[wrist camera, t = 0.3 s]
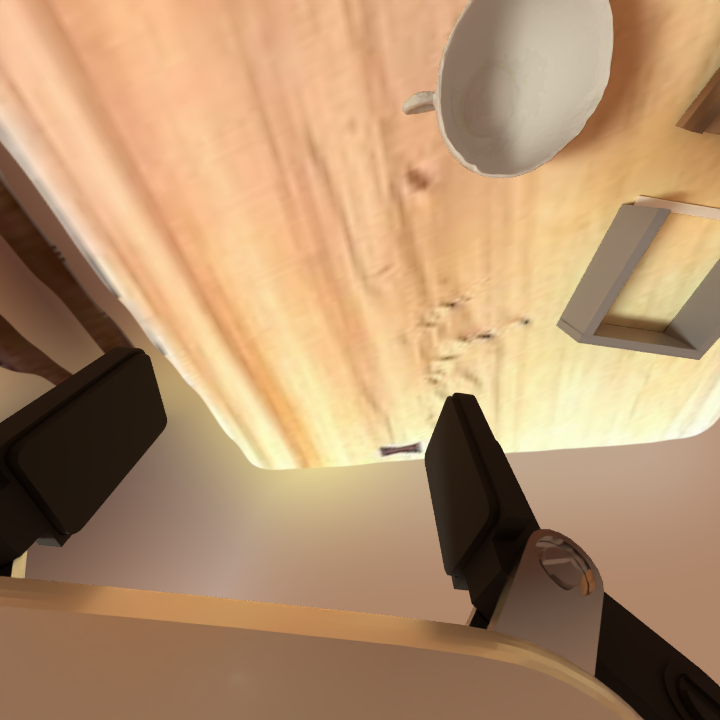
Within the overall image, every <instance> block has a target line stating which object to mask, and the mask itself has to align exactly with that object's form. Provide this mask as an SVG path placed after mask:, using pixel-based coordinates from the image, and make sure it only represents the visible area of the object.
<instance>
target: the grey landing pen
mask: <svg viewBox="0 0 720 720" xmlns="http://www.w3.org/2000/svg"><path fill="white" fill-rule="evenodd" d="M670 212H673V213H679V214H685V215H691V216H697V217H703V218H709V219H715V220H720V209H716V208H710V207H704V206H698V205H692V204H686V203H681V202H675V201H669V200H663V199H657V198H651V197H645V196H638V197H637V199H636V201H635V202H634V204H633V205H626V204H622V206H621V208H620V209H619V211H618V213H617V215H616V217H615V219H614V220H613V222H612V224H611V226H610V228H609V230H608V231H607V233H606V235H605V237H604V239H603V241H602V242H601V244H600V246H599V248H598V250H597V252H596V253H595V255H594V257H593V259H592V261H591V263H590V264H589V266H588V268H587V270H586V272H585V274H584V276H583V277H582V279H581V281H580V283H579V285H578V287H577V288H576V290H575V292H574V294H573V296H572V298H571V299H570V301H569V303H568V305H567V307H566V309H565V310H564V312H563V314H562V316H561V318H560V320H559V321H558V323H557V326H558V327H559V328H560V329H562V330H563V331H564V332H565V333H567V334H568V335H569V336H570V337H572V338H573V339H574V340H575V341H577V342H578V343H585V344H592V345H599V346H606V347H613V348H620V349H627V350H634V351H640V352H647V353H654V354H661V355H668V356H675V357H682V358H689V359H696V360H700V359H701V357H702V356H703V355H704V354H705V353H706V352H707V351H708V350H709V348H710V347H711V346H712V345H713V344H714V343H715V342H716V341H717V339H718V338H719V337H720V259H719V261H718V262H717V263H716V265H715V266H714V267H713V268H712V270H711V271H710V272H709V274H708V275H707V276H706V278H705V279H704V280H703V281H702V283H701V284H700V285H699V287H698V288H697V289H696V291H695V292H694V293H693V294H692V296H691V297H690V298H689V300H688V301H687V302H686V304H685V305H684V306H683V307H682V309H681V310H680V311H679V313H678V314H677V315H676V317H675V318H674V319H673V320H672V322H671V323H670V324H669V326H668V327H667V328H666V330H665V331H664V332H656V331H650V330H643V329H636V328H629V327H622V326H616V325H609V324H602V323H601V321H602V320H603V318H604V316H605V315H606V313H607V312H608V310H609V308H610V307H611V305H612V304H613V302H614V301H615V299H616V297H617V296H618V294H619V293H620V291H621V289H622V288H623V286H624V285H625V283H626V281H627V280H628V278H629V277H630V275H631V273H632V272H633V270H634V269H635V267H636V266H637V264H638V262H639V261H640V259H641V258H642V256H643V254H644V253H645V251H646V250H647V248H648V246H649V245H650V243H651V242H652V240H653V239H654V237H655V235H656V234H657V232H658V231H659V229H660V227H661V226H662V224H663V223H664V221H665V219H666V218H667V216H668V215H669V213H670Z"/></svg>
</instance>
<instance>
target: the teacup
mask: <svg viewBox="0 0 720 720" xmlns="http://www.w3.org/2000/svg"><path fill="white" fill-rule="evenodd" d="M613 44H614V27H613V15H612V11H611V7H610V3H609V0H469V2H468V4H467V5H466V7H465V9H464V10H463V12H462V14H461V15H460V17H459V19H458V20H457V22H456V24H455V26H454V28H453V29H452V31H451V34H450V36H449V38H448V41H447V43H446V46H445V49H444V51H443V55H442V58H441V62H440V66H439V71H438V77H437V87H436V90H435V92H431V91H423V92H418V93H416V94H414V95H413V96H411V97H410V98H409V99H408V100H407V101H405V102H404V104H403V106H402V110H403V112H404V113H405V114H407V115H411V114H419V113H424V112H428V111H433V110H436V116H437V122H438V127H439V131H440V134H441V137H442V139H443V141H444V143H445V145H446V147H447V149H448V150H449V152H450V153H451V155H452V156H453V157H454V158H455V159H456V160H457V161H458V162H459V163H460V164H461V165H462V166H464V167H465V168H467V169H468V170H470V171H472V172H474V173H476V174H478V175H481V176H485V177H490V178H511V177H516V176H520V175H523V174H526V173H528V172H531V171H533V170H535V169H537V168H538V167H540V166H541V165H543V164H544V163H546V162H549V161H550V160H551V159H553V157H554V156H555V155H556V154H557V153H558V152H560V151H561V150H562V149H563V148H564V147H565V146H566V145H567V144H568V143H569V142H570V141H571V140H573V139H574V138H575V137H576V136H577V135H578V134H579V133H580V132H581V130H582V129H583V128H584V126H585V124H586V121H587V120H588V118H589V117H590V116H591V115H592V114H593V113H594V111H595V109H596V107H597V105H598V104H599V102H600V101H601V99H602V98H603V93H604V90H605V88H606V86H607V84H608V80H609V76H610V67H611V61H612V54H613Z"/></svg>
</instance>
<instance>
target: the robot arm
mask: <svg viewBox="0 0 720 720" xmlns="http://www.w3.org/2000/svg"><path fill="white" fill-rule="evenodd" d="M166 424H167V417H166V413H165V410H164V406H163V402H162V399H161V395H160V392H159V388H158V384H157V381H156V377H155V374H154V370H153V367H152V363H151V359H150V357H149V356H148V355H146V354H145V352H144V351H143V350H142V349H139V348H132V347H125V346H117V347H115V348H113V349H112V350H110V351H109V352H107V353H106V354H104V355H103V356H101V357H100V358H98V359H97V360H95V361H94V362H92V363H91V364H89V365H88V366H86V367H85V368H83V369H82V370H80V371H79V372H77V373H76V374H74V375H72V376H71V377H69V378H68V379H66V380H65V381H63V382H62V383H60V384H59V385H57V386H56V387H54V388H53V389H51V390H50V391H48V392H47V393H45V394H44V395H42V396H40V397H39V398H38V399H36V400H34V401H33V402H31V403H30V404H28V405H27V406H25V407H24V408H22V409H21V410H19V411H18V412H16V413H15V414H13V415H12V416H10V417H9V418H7V419H6V420H4V421H2V422H1V423H0V720H720V687H719V686H718V684H716V683H715V682H714V681H713V680H712V679H711V678H710V677H709V676H708V675H707V674H706V673H704V672H703V671H702V670H701V669H700V668H699V667H698V666H696V665H695V664H694V663H693V662H691V661H690V660H689V659H688V658H686V657H685V656H684V655H683V654H681V653H680V652H679V651H678V650H676V649H675V648H674V647H673V646H671V645H670V644H669V643H668V642H666V641H665V640H664V639H663V638H661V637H660V636H659V635H658V634H656V633H655V632H654V631H653V630H651V629H650V628H649V627H648V626H646V625H645V624H644V623H643V622H641V621H640V620H639V619H638V618H636V617H635V616H634V615H633V614H631V613H630V612H629V611H628V610H626V609H625V608H624V607H623V606H622V605H620V604H619V603H618V602H616V601H615V600H614V599H613V598H612V597H610V596H609V595H607V593H605V592H604V588H603V581H602V578H601V576H600V573H599V571H598V569H597V567H596V566H595V564H594V563H593V561H592V560H591V558H590V557H589V556H588V555H587V554H586V552H585V551H584V550H583V549H582V548H581V547H580V546H579V545H577V544H576V543H575V542H574V541H572V540H571V539H570V538H568V537H566V536H564V535H563V534H561V533H559V532H556V531H553V530H550V529H540V527H539V525H538V523H537V521H536V519H535V517H534V515H533V513H532V510H531V508H530V506H529V504H528V502H527V500H526V498H525V496H524V494H523V492H522V489H521V487H520V485H519V483H518V481H517V479H516V477H515V475H514V473H513V471H512V469H511V467H510V464H509V463H508V460H507V458H506V457H505V454H504V452H503V450H502V448H501V446H500V444H499V443H498V441H496V440H495V438H494V436H493V434H492V431H491V429H490V427H489V425H488V423H487V421H486V419H485V417H484V414H483V412H482V410H481V408H480V406H479V404H478V402H477V400H476V398H475V396H474V395H470V394H463V393H454V394H453V396H448V397H447V399H446V401H445V403H444V406H443V409H442V411H441V414H440V416H439V419H438V421H437V424H436V427H435V429H434V432H433V434H432V437H431V439H430V442H429V444H428V447H427V450H426V453H425V467H426V471H427V477H428V483H429V488H430V493H431V499H432V504H433V510H434V515H435V520H436V526H437V531H438V536H439V542H440V547H441V553H442V558H443V563H444V568H445V571H446V573H447V575H451V576H452V581H453V586H454V589H459V590H469V593H470V598H471V602H472V604H473V605H474V607H473V609H472V611H471V613H470V616H469V618H468V620H467V622H466V624H465V625H459V624H451V623H443V622H436V621H428V620H420V619H412V618H404V617H396V616H388V615H379V614H369V613H361V612H351V611H342V610H332V609H323V608H313V607H304V606H294V605H285V604H276V603H266V602H257V601H246V600H236V599H227V598H217V597H208V596H198V595H187V594H178V593H167V592H158V591H148V590H137V589H128V588H118V587H107V586H97V585H86V584H76V583H66V582H55V581H45V580H35V579H25V578H24V577H25V567H26V556H27V549H28V548H29V547H30V546H31V545H32V544H33V543H34V542H35V541H36V542H37V543H38V544H39V545H47V546H56V547H57V546H58V547H62V546H63V545H64V543H65V542H66V541H67V540H68V539H69V538H70V536H71V535H72V534H75V533H77V532H79V531H80V530H81V529H82V528H83V527H84V526H85V525H86V523H87V522H88V521H89V520H90V518H91V517H92V516H93V515H94V514H95V512H96V511H97V510H98V509H99V508H100V506H101V505H102V504H103V503H104V502H105V500H106V499H107V498H108V497H109V496H110V494H111V493H112V492H113V491H114V490H115V488H116V487H117V486H118V485H119V483H120V482H121V481H122V480H123V479H124V477H125V476H126V475H127V474H128V473H129V471H130V470H131V469H132V468H133V467H134V465H135V464H136V463H137V462H138V461H139V459H140V458H141V457H142V456H143V455H144V453H145V452H146V451H147V449H148V448H149V447H150V446H151V445H152V444H153V442H154V441H155V440H156V439H157V437H158V436H159V435H160V434H161V433H162V432H163V430H164V429H165V427H166Z"/></svg>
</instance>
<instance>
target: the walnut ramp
mask: <svg viewBox="0 0 720 720" xmlns="http://www.w3.org/2000/svg"><path fill="white" fill-rule="evenodd" d="M676 126H679V127H681V128H684V129H686V130H689V131H691V132H696V133H701V134H703V132H708V133H713V134H719V135H720V67H719V69H718V70H717V71H716V73H715V74H714V75H713V77H712V78H711V79H710V81H709V82H708V83H707V85H706V86H705V87H704V89H703V90H702V91H701V93H700V94H699V95H698V97H697V98H696V99H695V101H694V102H693V103H692V105H691V106H690V107H689V108H688V110H687V111H686V112H685V114H684V115H683V116H682V118H681V119H680V120H679V122H678V123H677V124H676Z"/></svg>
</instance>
